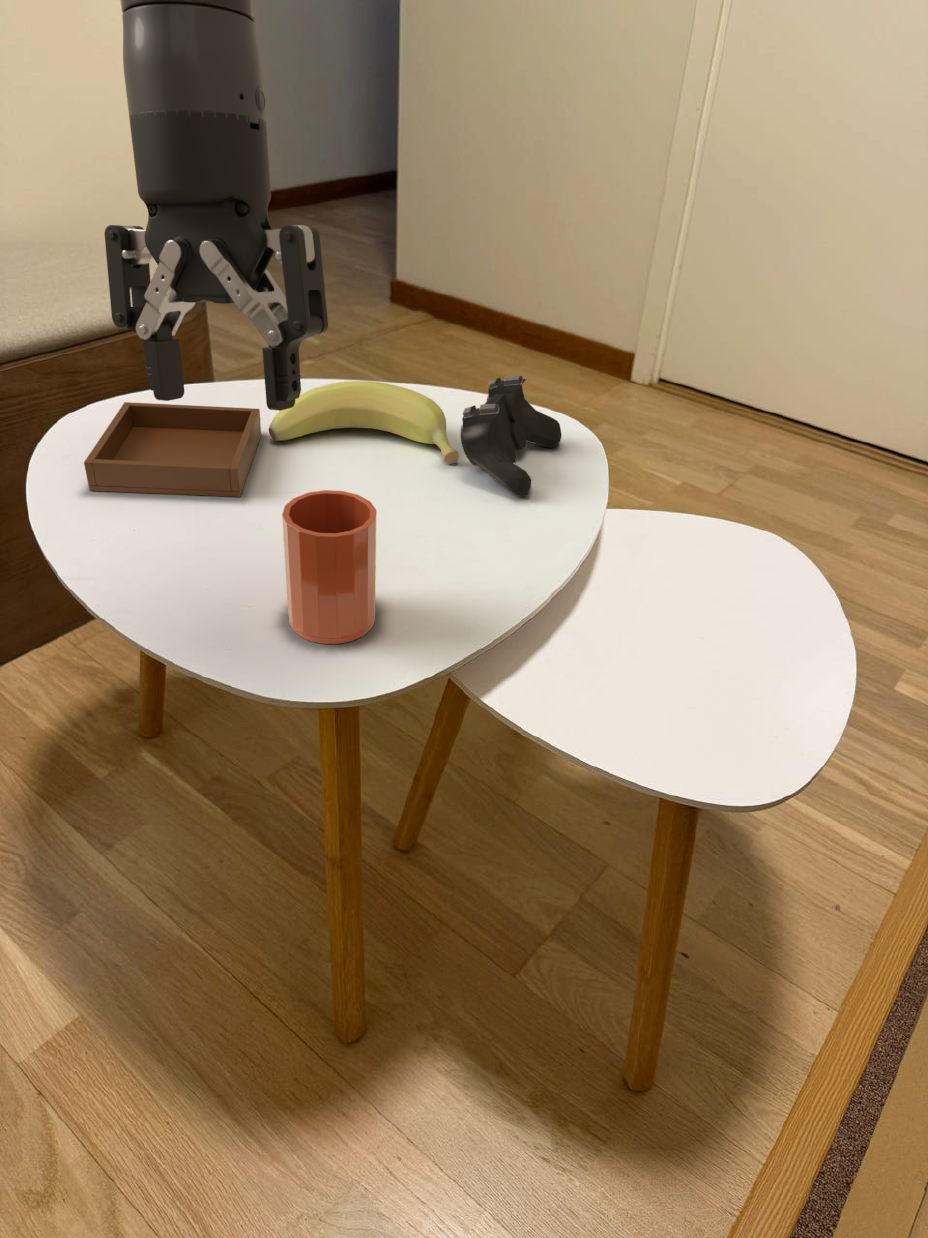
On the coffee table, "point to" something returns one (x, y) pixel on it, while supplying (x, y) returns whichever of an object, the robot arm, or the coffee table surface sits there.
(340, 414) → the banana
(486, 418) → the chunky heeled booties
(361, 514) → the cup
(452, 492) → the coffee table surface
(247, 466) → the tray
